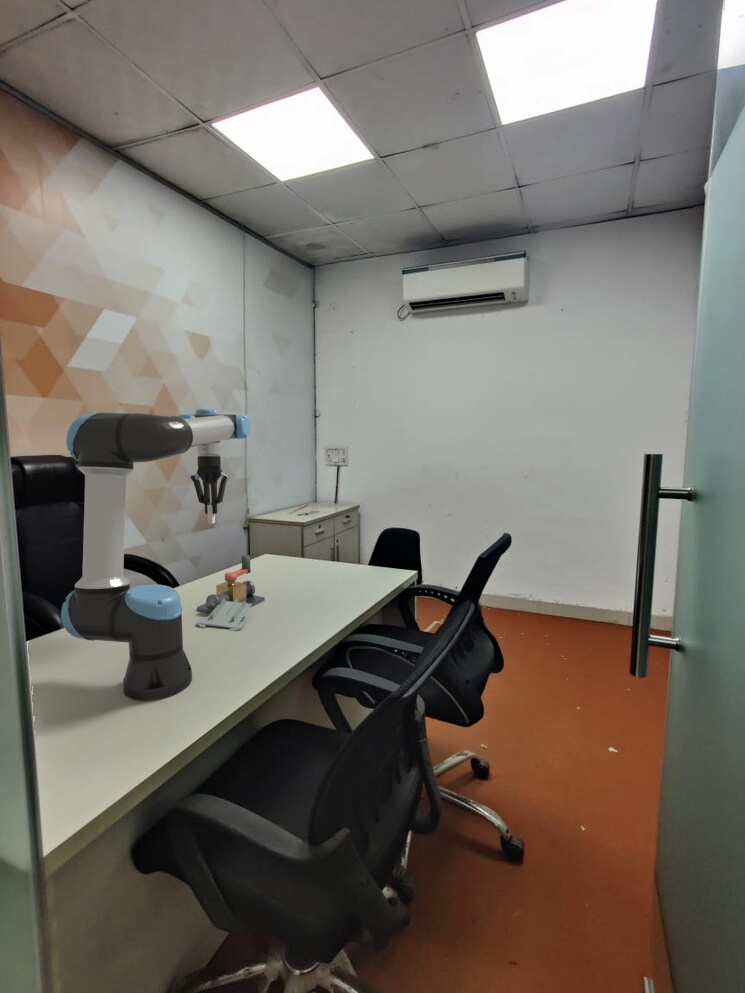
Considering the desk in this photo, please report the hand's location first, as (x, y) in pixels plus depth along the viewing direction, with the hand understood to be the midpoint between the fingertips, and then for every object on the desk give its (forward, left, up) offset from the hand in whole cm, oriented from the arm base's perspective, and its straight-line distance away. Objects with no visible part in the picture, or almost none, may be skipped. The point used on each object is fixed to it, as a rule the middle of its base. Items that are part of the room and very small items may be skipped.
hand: (211, 523), depth 168 cm
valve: (0, -8, -28) cm, 30 cm away
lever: (+4, -7, -19) cm, 21 cm away
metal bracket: (-11, -17, -29) cm, 35 cm away
